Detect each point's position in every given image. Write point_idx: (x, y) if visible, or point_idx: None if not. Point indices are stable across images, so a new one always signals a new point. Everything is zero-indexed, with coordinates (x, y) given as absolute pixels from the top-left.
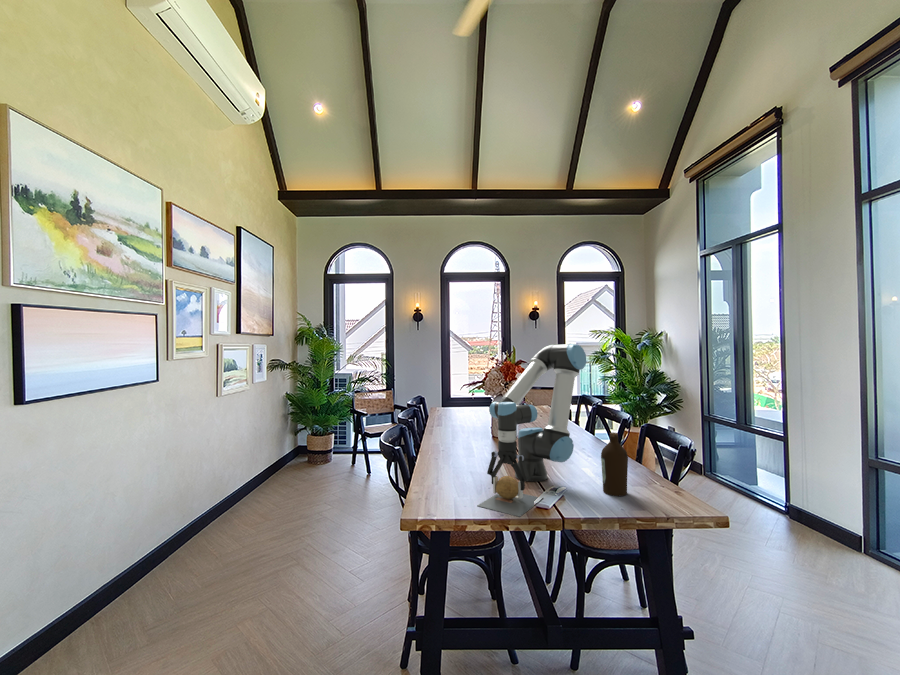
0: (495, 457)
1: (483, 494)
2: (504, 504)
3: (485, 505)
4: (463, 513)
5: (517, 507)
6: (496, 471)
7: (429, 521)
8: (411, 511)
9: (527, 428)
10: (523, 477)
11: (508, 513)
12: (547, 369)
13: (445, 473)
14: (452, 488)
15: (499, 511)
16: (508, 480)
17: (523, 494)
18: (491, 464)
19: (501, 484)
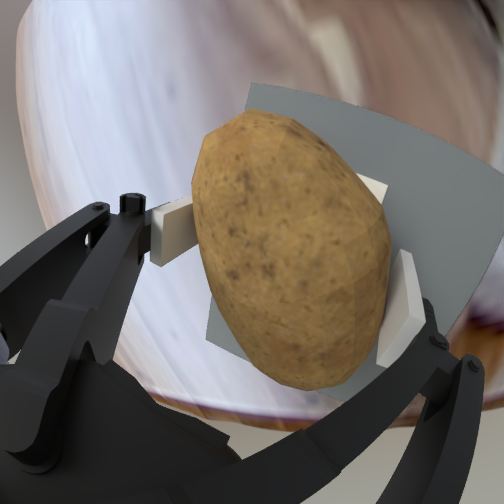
0: (5, 326)
1: (175, 196)
2: None
3: (232, 339)
4: (196, 381)
5: (375, 351)
6: (131, 285)
7: (161, 402)
8: None
9: None
10: (421, 416)
11: (335, 397)
12: None
13: (42, 56)
14: (78, 173)
15: None
16: (285, 356)
17: (404, 137)
18: (56, 299)
19: (248, 357)
